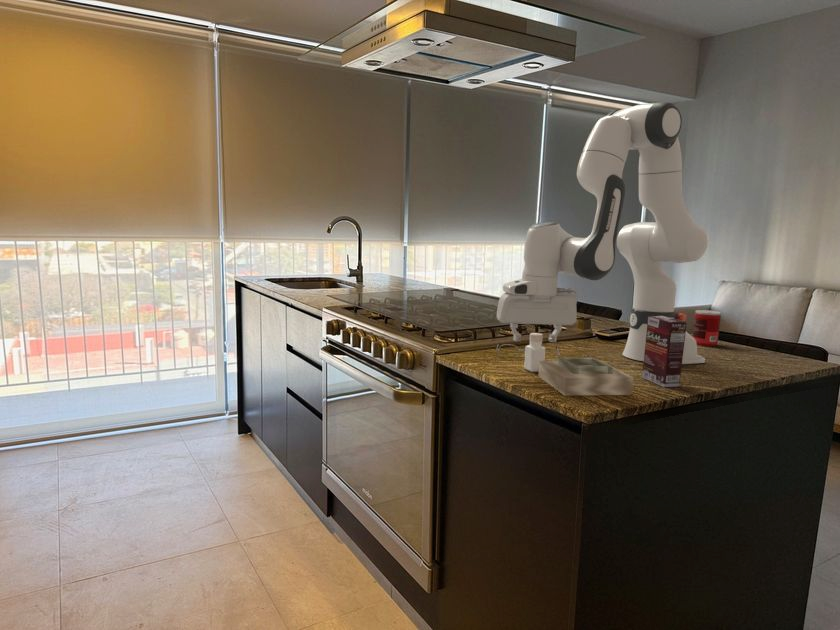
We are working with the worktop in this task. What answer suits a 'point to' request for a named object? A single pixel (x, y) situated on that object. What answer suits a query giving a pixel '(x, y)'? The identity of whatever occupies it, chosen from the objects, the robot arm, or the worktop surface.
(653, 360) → the supplement box
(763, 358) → the worktop surface
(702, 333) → the canned food
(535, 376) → the worktop surface
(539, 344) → the pepper shaker
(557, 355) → the eyeglasses
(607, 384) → the block
